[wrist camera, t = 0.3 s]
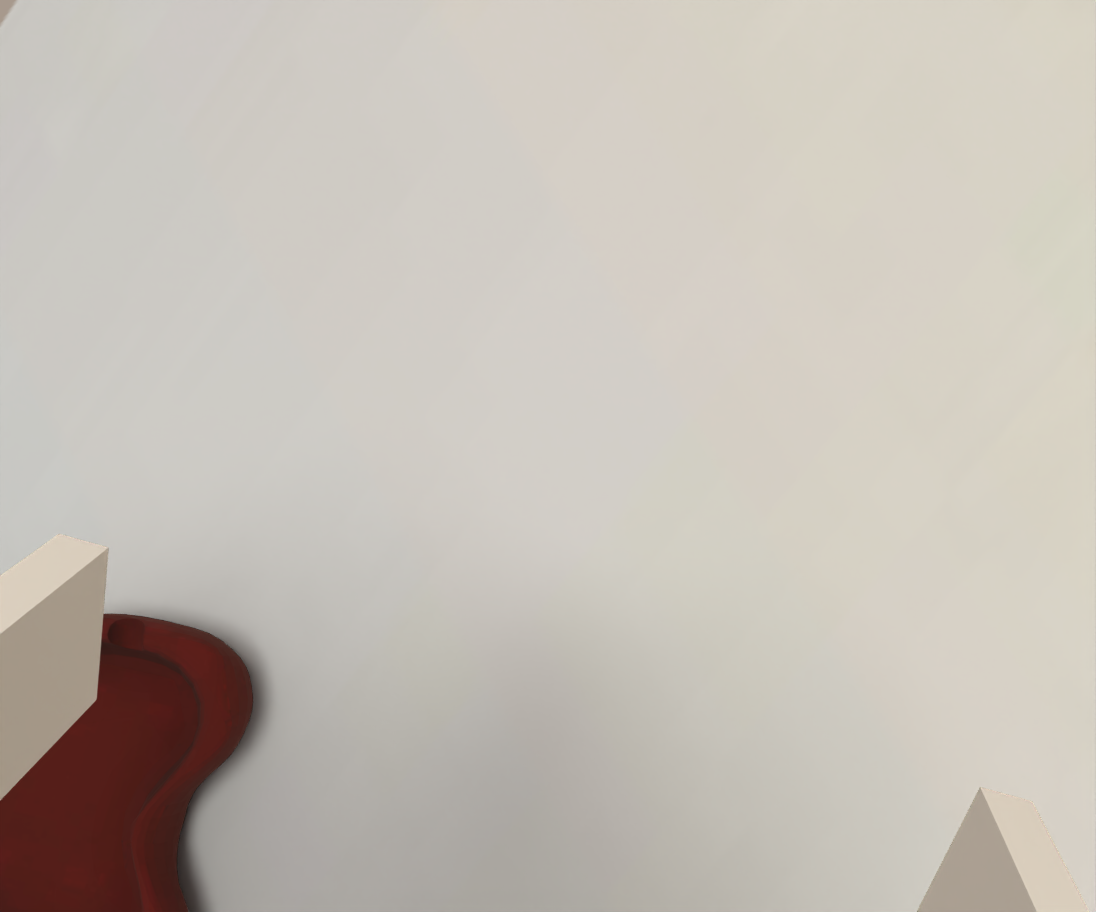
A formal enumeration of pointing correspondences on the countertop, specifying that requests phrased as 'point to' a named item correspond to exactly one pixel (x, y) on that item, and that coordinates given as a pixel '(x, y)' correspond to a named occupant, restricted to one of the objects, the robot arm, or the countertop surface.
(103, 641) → the ashtray
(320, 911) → the countertop surface
